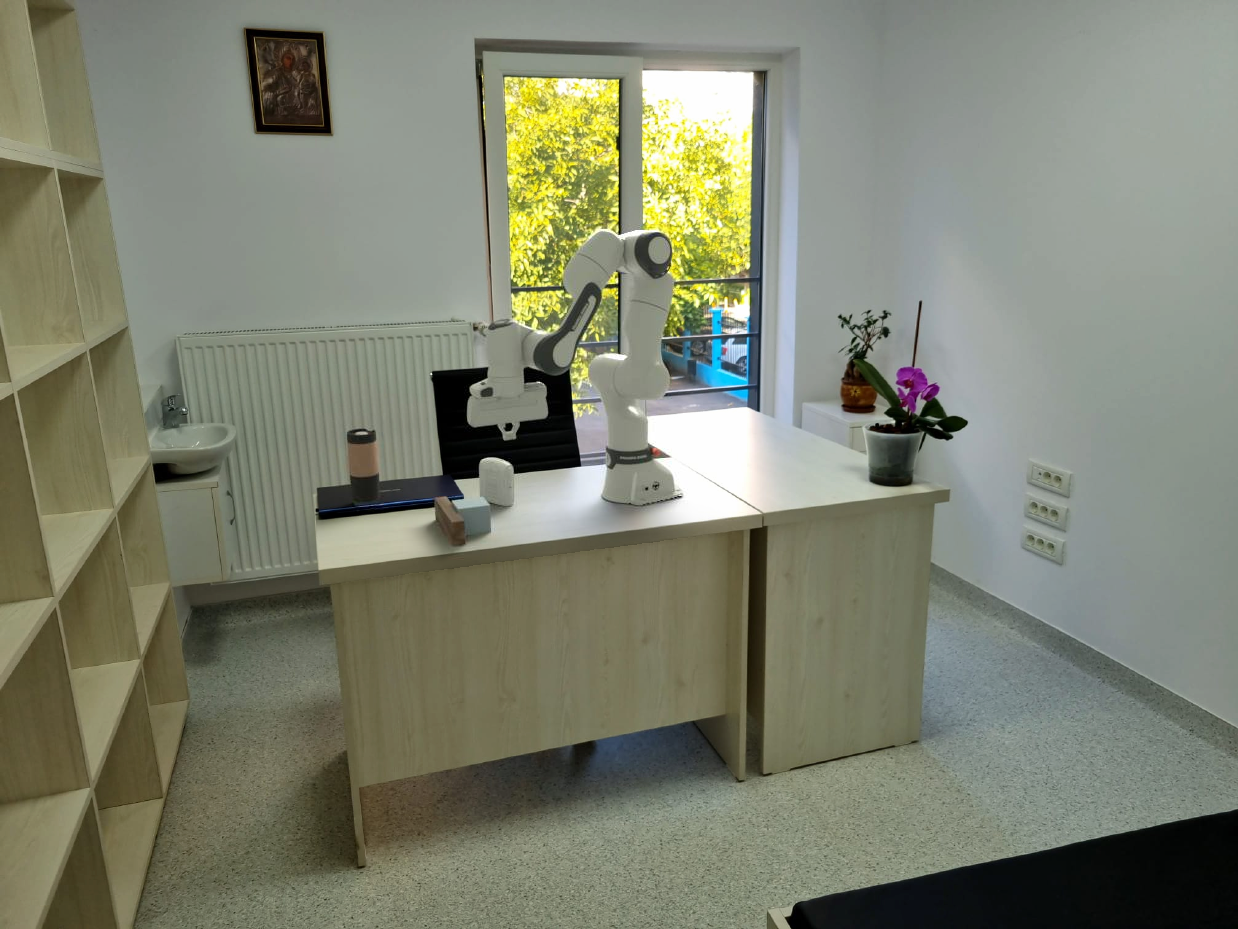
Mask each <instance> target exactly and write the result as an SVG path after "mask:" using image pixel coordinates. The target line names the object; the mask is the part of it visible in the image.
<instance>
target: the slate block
mask: <svg viewBox="0 0 1238 929" xmlns="http://www.w3.org/2000/svg"><path fill="white" fill-rule="evenodd" d="M451 504H452V505H453V506H454V508H455V509H456V510H457V512H458V513H459V514H460V515H461V517H462V518H463V519H464V521H465V536H468V535H475V534H483V532H484V533H488V532H489V533H491V532H492V520H491V518H492V516H491V504H490V502H487V501H486V500H485V499H484V498H483V497H480V496H479V497H471V498H463V499H461V498H460V499H454V500H453V499H452V500H451Z"/></svg>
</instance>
